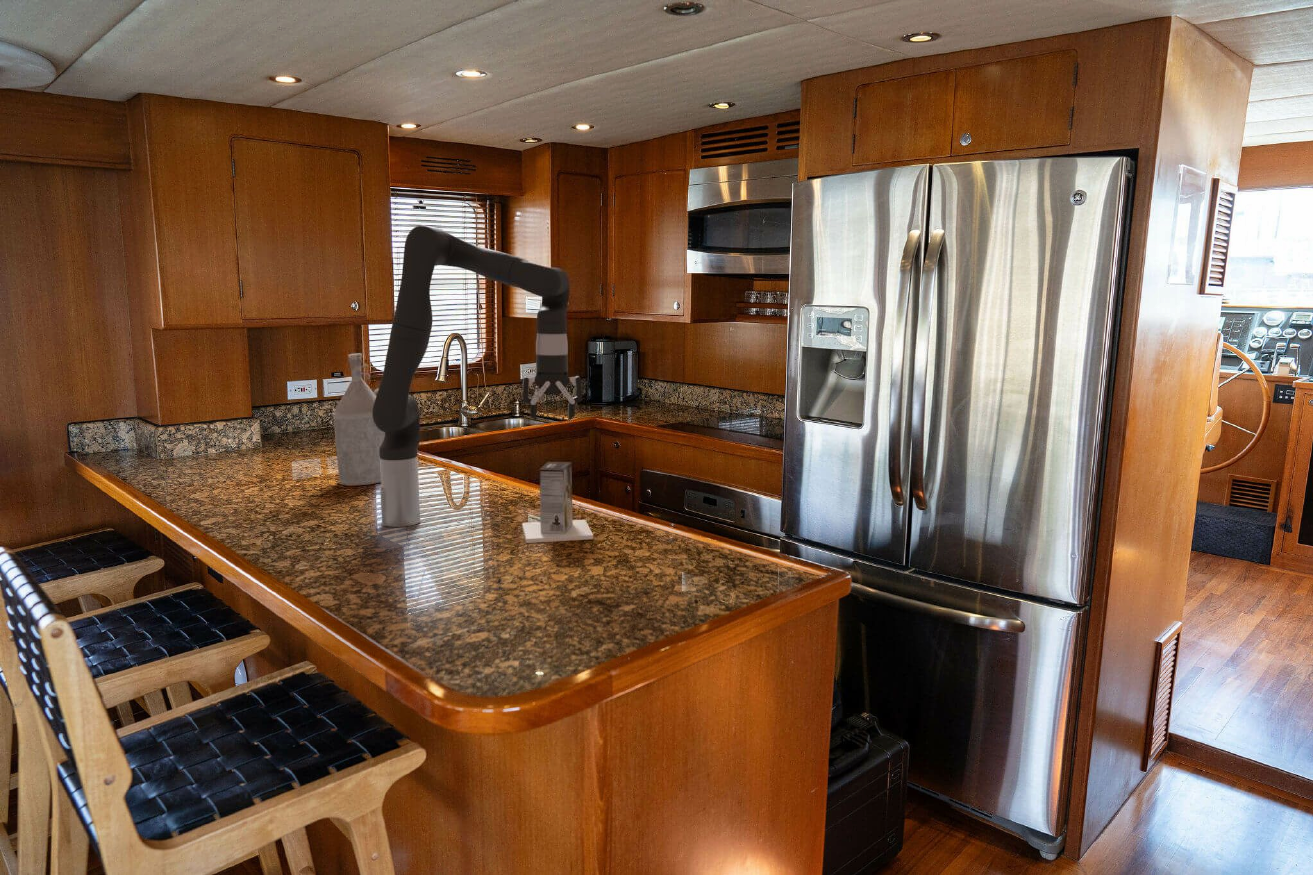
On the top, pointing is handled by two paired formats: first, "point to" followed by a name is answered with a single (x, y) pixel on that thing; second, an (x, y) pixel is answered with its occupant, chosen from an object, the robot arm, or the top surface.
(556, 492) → the coffee box
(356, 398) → the grey bottle
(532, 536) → the mat
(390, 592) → the top surface
